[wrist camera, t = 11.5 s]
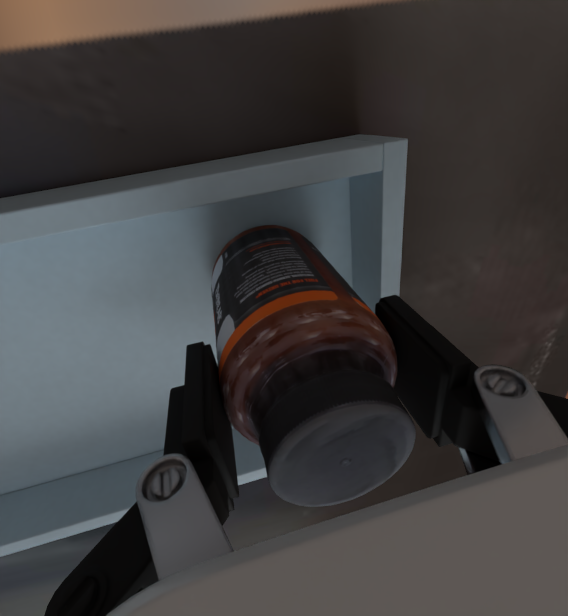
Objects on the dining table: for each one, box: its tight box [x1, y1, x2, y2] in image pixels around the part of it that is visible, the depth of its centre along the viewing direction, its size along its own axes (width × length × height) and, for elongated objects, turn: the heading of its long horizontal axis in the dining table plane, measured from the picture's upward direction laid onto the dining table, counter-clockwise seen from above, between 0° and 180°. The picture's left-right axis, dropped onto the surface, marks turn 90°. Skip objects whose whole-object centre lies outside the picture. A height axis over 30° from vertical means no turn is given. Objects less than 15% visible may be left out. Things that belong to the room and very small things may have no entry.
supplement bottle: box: [211, 225, 415, 507], centre depth 13 cm, size 6×6×11 cm
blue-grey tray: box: [0, 134, 408, 557], centre depth 17 cm, size 34×18×4 cm, turn 98°
